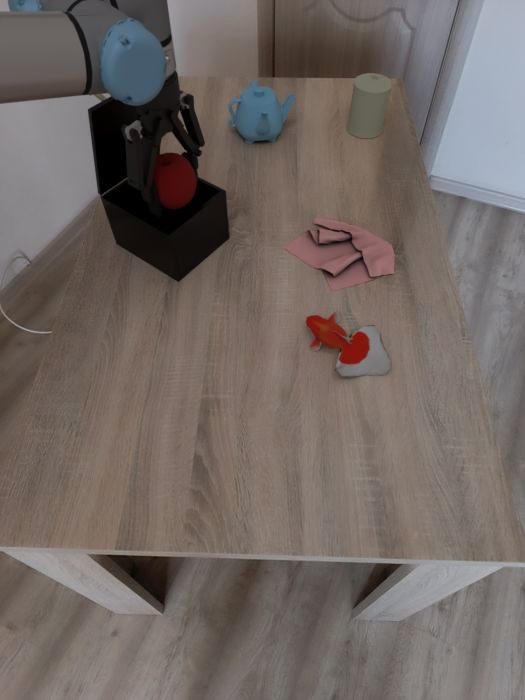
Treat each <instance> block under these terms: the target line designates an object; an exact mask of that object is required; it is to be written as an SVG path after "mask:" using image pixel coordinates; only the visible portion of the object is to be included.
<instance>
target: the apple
mask: <svg viewBox="0 0 525 700" xmlns="http://www.w3.org/2000/svg"><path fill="white" fill-rule="evenodd" d="M152 183H154V184H156V185H157V190H158V195H159V199H160V204H161V205H162V206H164V207H166V208H168V209H179V208H182V207H183V206H185V205H186V204H188V203H189V202H190V201H191V200H192V198H193V196H194V193H195V190H196V185H197V179H196V174H195V172H194V169H193V167H192V166H191V164H190V163H189V161H188V160H187V159H186V158H185V157H184V156H182V154H180V153H178V152H173V151H172V152H170V151H169V152H165V153H160V155H157V156H156V162H155V169H154V175H153V181H152Z"/></svg>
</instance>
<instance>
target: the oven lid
mask: <svg viewBox="0 0 525 700" xmlns="http://www.w3.org/2000/svg"><path fill="white" fill-rule="evenodd" d="M88 96H92V95H88ZM93 96H94V97H95V98H96V99H98V100H99V101H100V102H98V103H96V104H94V105H92V106H91V107H89V108H87V115H88V124H89V132H90V140H91V149H92V155H93V156H92V157H93V163H94V165H93V166H94V171H95V181H96V189H97V194H98V195H99V196H102V195H104V194H105V193H106V192H108V191H109V190H111V189H112V188H114V187H115V186H117V185H118V184H120V183H121V182H123V181H124V180H126V179H127V178H128V177H127V161H126V145H125V138H124V136H123V133H122V130H121V128H122V126H123V125H124V124H126V125H128V126H130V125H131V124H132V123H133V122H135V117H136V109H135V107H134V106H133V105H129V104H125V103H123V102H121V101H119V100H116V99H114V98H112V97H111V96H108V97H106V96H105V95H104V94H94V95H93ZM148 136H149V137H151V138H153V139H154V137H153V136H150V135H149V134H148ZM141 142H142V141H141ZM160 154H161V145H160V146H159V147H158V149H157V155H160Z"/></svg>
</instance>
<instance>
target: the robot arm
mask: <svg viewBox="0 0 525 700" xmlns="http://www.w3.org/2000/svg"><path fill="white" fill-rule="evenodd" d="M7 5H8V10H7V11H1V10H0V105H5V104H12V103H24V102H33V101H41V100H43V101H44V100H51V99H61V98H70V97H80V96H89V95H91V96H94V94H102V95H104V94H107V95H110V97H112V98H114V99H116V100H119V101H121V102H123V103H125V104H129V105H133V106H134V107H135V109H136V117H135V122H133V123H132V124H131V125H130V126H128V125H126V124H124V125H123V126H122V128H121V130H122V133H123V136H124V138H125V145H126V161H127V177H128V184H129V185H131V186H132V187H134V188H136V189H138V190H141V193H142V197H143V199H144V200H145V201H146V202H147V204H148V208H149V212H151V213H153V214H155V215H156V216H158V217H162V216H163V213H162V208H161V204H160V199H159V195H158V190H157V185H156V184H154V183H152V181H153V175H154V169H155V162H156V156H157V149H158V147H159V146H160V147H161V145H162V139H163V138H164V137H165V136H166V135H167V134H168V133H172V135H173V136H174V138H175V139H176V140H177V141H178V142H179V144H180V146H181V147H182V148H183V150H184V151H182V152H181V154H180V155H182V156H184V157H185V158H186V159H187V160H188V161H189V163H190V164H191V166H192V167H193V169H194V172H195V174H196V179H197V185H196V190H197V189H199V180H198V177H199V173H198V170H199V165H200V164H199V157H201V156H202V154H203V151H202V149H200V148H204V146H205V145H206V140H205V137H204V135H203V132H202V128H201V125H200V122H199V119H198V115H197V113H196V110H195V97H194V95H193V94H191V93H189V92H186V91H184V90H182V89H180V81H179V74H178V72H177V70H176V69H177V62H176V55H175V47H174V41H173V36H172V35H173V34H172V27H171V20H170V19H171V18H170V13H169V4H168V0H7ZM179 112H180V113H179ZM179 114H180V116H181V118H182V120H181V119H180V118H179ZM182 121H183V122H182ZM148 134H149V135H150V136H153V137H154V139H153V138H151V137H149V136H148ZM141 141H142V142H141Z"/></svg>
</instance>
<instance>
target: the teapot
mask: <svg viewBox="0 0 525 700" xmlns="http://www.w3.org/2000/svg"><path fill="white" fill-rule="evenodd" d="M296 98H297V96H296V94H295V93H289V95H288V96H286V99H285V100H284V101H283V103H282V104H280V101H279V99H278V96H277V95H276V93H275V91H274V90H273V88H271V87H269V86H260V85H259V81H258V80H252V81H250V82H249V87H247V88H244V89H243V90H242V92H241V94H240V96H239V97H233V98H232V99H231V100H230V101H229V102H228V111H229V113H230V115H231V117H229V119H228V121H227V122H228V123H227V124H228V125H229V127H231V128H236V129H237V130H238V132H239V134H240V135H241V136H242V137H243V139H244V141H245V143H246V144H249V145H251V144H254V143H255V142H257V141H260V142H261V141H267V142H269V143H270V142H271V143H272V142H273V143H274V142H276V140H277V137H278V136H279V135H280V134H281V131H282V130H283V126H284V123H285V121H286V119H287V117H288V115H289V113H290V112H291V111H290V110H291V109H292V107H293V104H294V102H295V100H296ZM236 103H237V104H236ZM234 104H236V109H235V113H234V110H233V105H234ZM232 121H233V122H232Z"/></svg>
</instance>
